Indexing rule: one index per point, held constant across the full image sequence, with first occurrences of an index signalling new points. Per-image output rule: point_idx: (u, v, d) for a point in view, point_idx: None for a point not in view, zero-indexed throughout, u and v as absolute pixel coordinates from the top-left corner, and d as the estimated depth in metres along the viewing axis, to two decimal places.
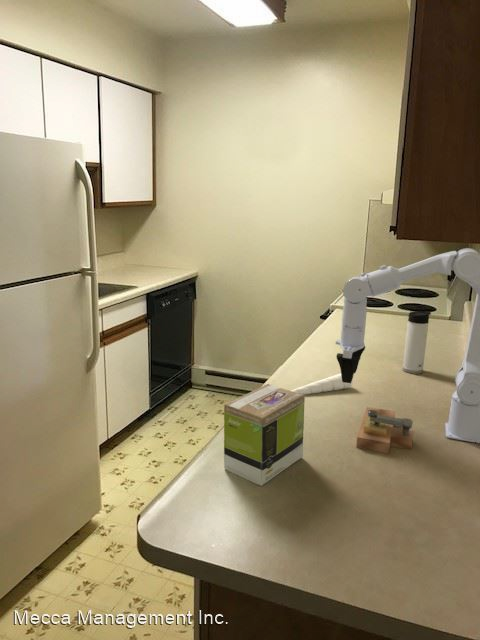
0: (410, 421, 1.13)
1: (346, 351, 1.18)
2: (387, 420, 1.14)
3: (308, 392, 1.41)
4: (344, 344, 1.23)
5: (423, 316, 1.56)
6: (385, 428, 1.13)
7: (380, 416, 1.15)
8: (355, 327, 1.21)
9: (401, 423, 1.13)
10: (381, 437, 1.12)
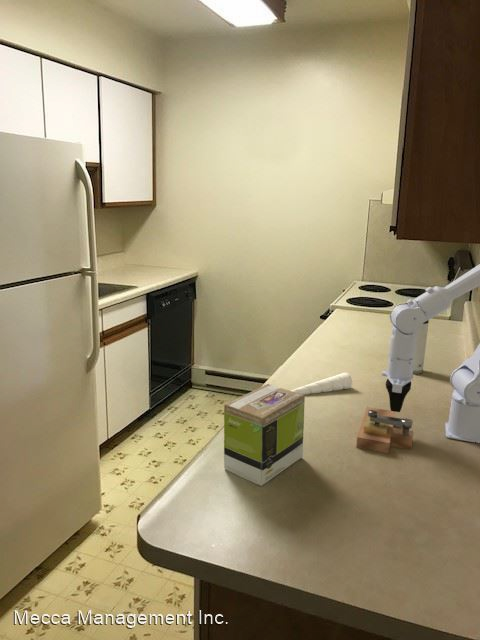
0: (410, 421, 1.13)
1: (396, 385, 1.11)
2: (387, 420, 1.14)
3: (308, 392, 1.41)
4: (392, 376, 1.15)
5: None
6: (385, 428, 1.13)
7: (380, 416, 1.15)
8: (408, 359, 1.13)
9: (401, 423, 1.13)
10: (381, 437, 1.12)
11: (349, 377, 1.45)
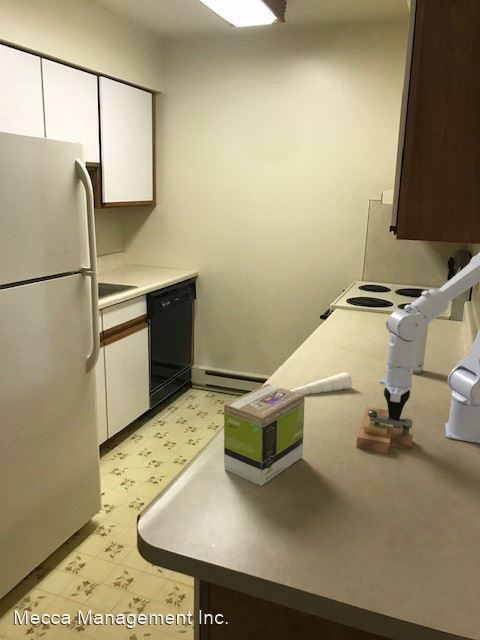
0: (410, 421, 1.13)
1: (394, 394, 1.07)
2: (387, 420, 1.14)
3: (307, 392, 1.41)
4: (390, 385, 1.12)
5: None
6: (385, 428, 1.13)
7: (380, 416, 1.15)
8: (409, 366, 1.10)
9: (401, 423, 1.13)
10: (381, 437, 1.12)
11: (348, 377, 1.45)
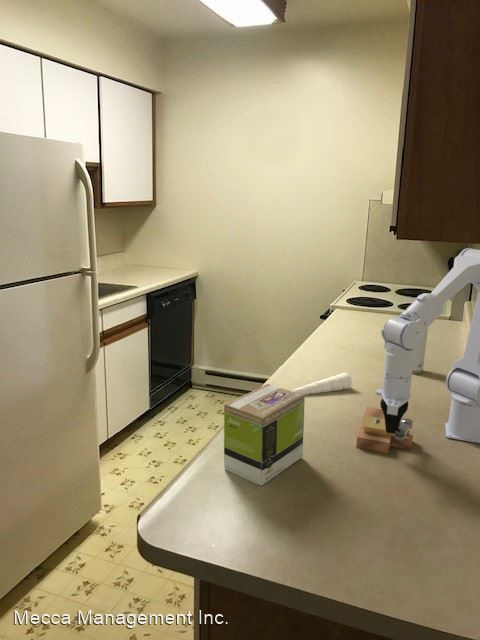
0: (408, 419, 1.14)
1: (391, 407, 1.00)
2: (407, 430, 1.09)
3: (307, 393, 1.41)
4: (387, 396, 1.05)
5: None
6: (385, 428, 1.13)
7: None
8: (410, 376, 1.04)
9: (409, 425, 1.12)
10: (381, 437, 1.12)
11: (348, 377, 1.45)
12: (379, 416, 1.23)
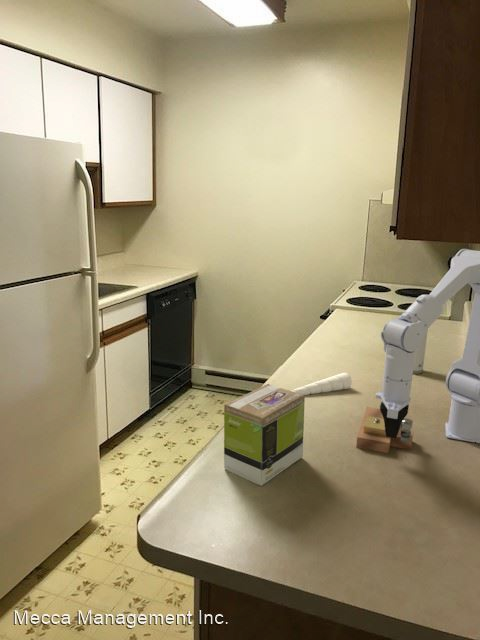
0: (407, 419, 1.14)
1: (391, 410, 0.99)
2: None
3: (307, 393, 1.41)
4: (387, 399, 1.03)
5: None
6: None
7: None
8: (410, 379, 1.02)
9: (410, 425, 1.12)
10: (381, 437, 1.12)
11: (348, 377, 1.45)
12: (379, 416, 1.23)
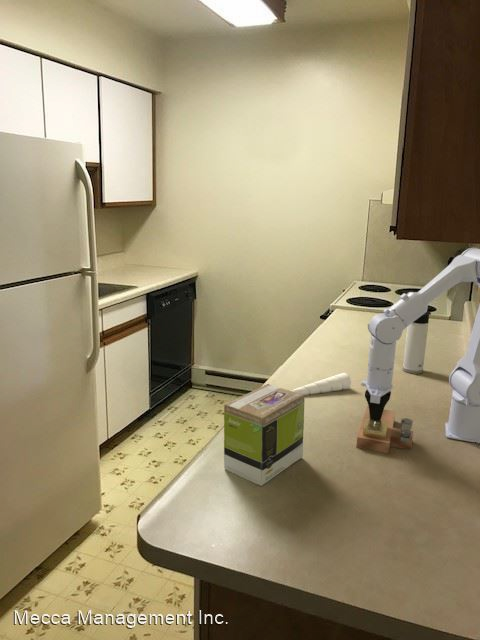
0: (407, 419, 1.14)
1: (374, 396, 1.09)
2: (410, 430, 1.09)
3: (306, 393, 1.41)
4: (371, 386, 1.14)
5: (423, 316, 1.56)
6: (384, 430, 1.12)
7: None
8: (388, 369, 1.12)
9: (410, 425, 1.12)
10: None
11: (347, 377, 1.45)
12: None
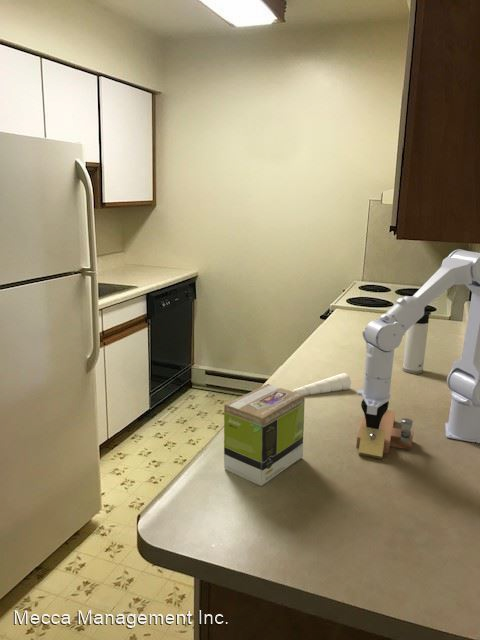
0: (407, 419, 1.14)
1: (371, 406, 1.04)
2: (410, 430, 1.09)
3: (306, 393, 1.40)
4: (367, 396, 1.08)
5: (423, 316, 1.56)
6: (381, 452, 1.07)
7: None
8: (388, 377, 1.07)
9: (410, 425, 1.12)
10: None
11: (347, 377, 1.45)
12: None
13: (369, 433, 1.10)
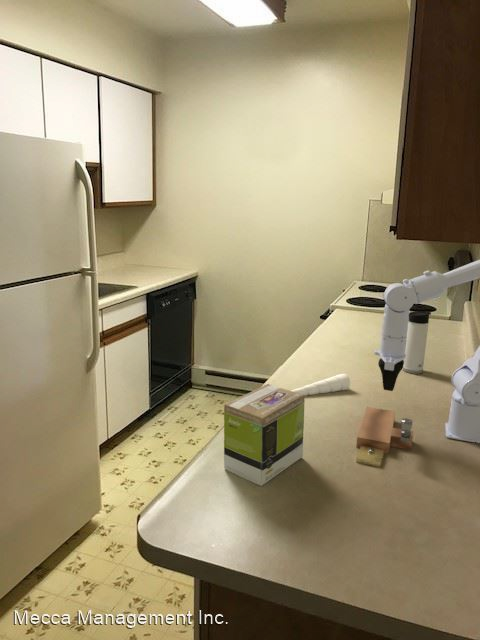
0: (407, 419, 1.14)
1: (388, 363, 1.11)
2: (410, 430, 1.09)
3: (305, 394, 1.40)
4: (384, 355, 1.16)
5: (423, 316, 1.56)
6: (379, 460, 1.05)
7: None
8: (399, 337, 1.14)
9: (410, 425, 1.12)
10: (381, 437, 1.12)
11: (347, 378, 1.44)
12: (379, 416, 1.23)
13: (368, 449, 1.09)
